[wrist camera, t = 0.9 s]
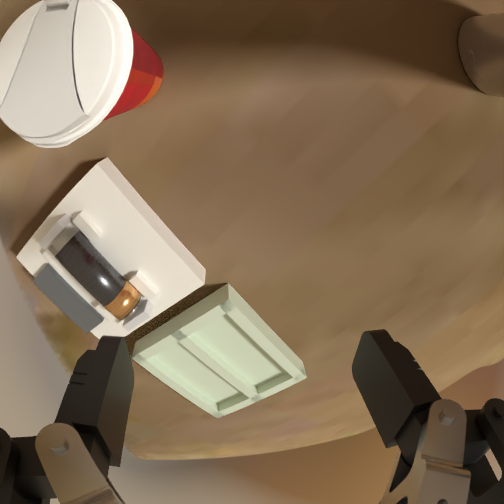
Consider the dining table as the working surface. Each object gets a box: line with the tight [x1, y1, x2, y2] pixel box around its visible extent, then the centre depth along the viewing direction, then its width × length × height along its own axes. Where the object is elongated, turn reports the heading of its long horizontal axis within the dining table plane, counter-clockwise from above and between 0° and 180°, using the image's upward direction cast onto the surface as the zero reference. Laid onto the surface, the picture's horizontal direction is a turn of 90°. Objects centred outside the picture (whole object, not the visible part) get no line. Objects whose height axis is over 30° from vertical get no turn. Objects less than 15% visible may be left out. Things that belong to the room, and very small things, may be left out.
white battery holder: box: [16, 157, 206, 339], centre depth 27 cm, size 14×14×4 cm
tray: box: [131, 283, 307, 418], centre depth 35 cm, size 14×15×3 cm
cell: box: [55, 231, 141, 320], centre depth 25 cm, size 3×9×3 cm, turn 35°
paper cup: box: [0, 0, 163, 148], centre depth 15 cm, size 8×8×14 cm
